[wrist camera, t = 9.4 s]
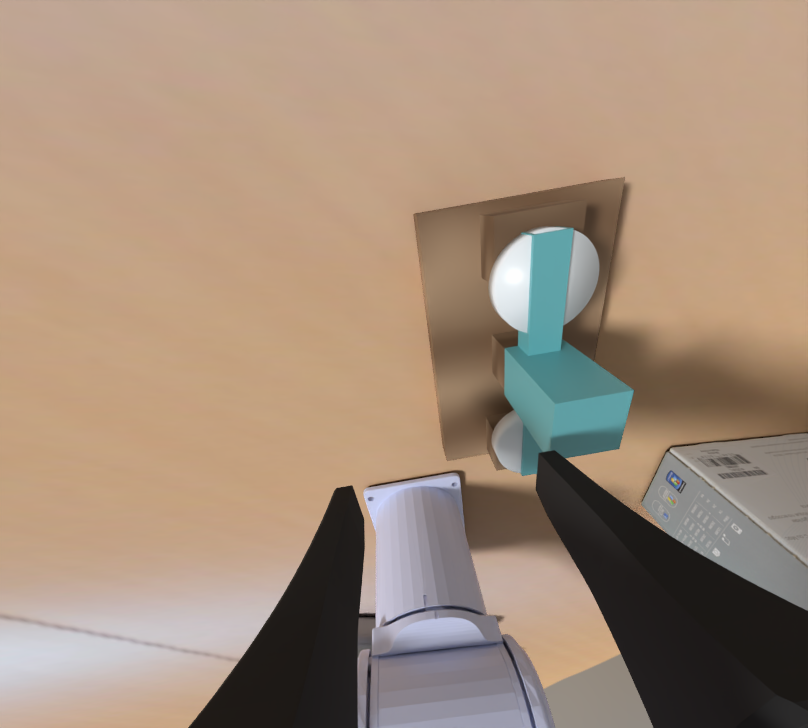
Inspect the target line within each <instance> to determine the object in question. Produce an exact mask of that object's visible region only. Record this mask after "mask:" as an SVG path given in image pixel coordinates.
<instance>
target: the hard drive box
mask: <svg viewBox="0 0 808 728" xmlns="http://www.w3.org/2000/svg"><path fill="white" fill-rule="evenodd" d="M641 505H642V506H643V507H644V508H645V509H646V510H647V512H648V513H649V514H650V515H651V516H652V517H653V518H654V519H655V520H656V522H657V523H658V524H659V525H660V526H661V527H662V528H663V529H664V530H665V532H666V533H667V534H668V535H670V536H672V537H673V538H675V539H676V540H678V541H680V542H681V543H683V544H684V545H686V546H688V547H689V548H691V549H693V550H694V551H696V552H698V553H700V554H701V555H703V556H705V557H707V558H708V559H710V560H712V561H714V562H716V563H717V564H719V565H721V566H723V567H724V568H726V569H728V570H730V571H732V572H733V573H735V574H737V575H739V576H741V577H742V578H744V579H746V580H748V581H750V582H752V583H754V584H756V585H757V586H759V587H761V588H763V589H765V590H767V591H769V592H771V593H773V594H775V595H777V596H779V597H781V598H783V599H785V600H787V601H789V602H791V603H793V604H795V605H797V606H799V607H801V608H803V609H805V610H807V611H808V433H800V434H789V435H783V436H777V437H767V438H758V439H748V440H739V441H729V442H713V443H703V444H698V445H691V446H683V447H673V448H670V451H668V452H666V454H665V456H664V458H663V460H662V462H661V464H660V466H659V469H658V471H657V473H656V475H655V477H654V479H653V481H652V483H651V485H650V487H649V489H648V491H647V493H646V495H645V497H644V499H643V501H642V504H641Z"/></svg>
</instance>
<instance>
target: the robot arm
mask: <svg viewBox="0 0 808 728" xmlns="http://www.w3.org/2000/svg"><path fill="white" fill-rule="evenodd" d="M454 482H455V483H454ZM536 491H537V493H538V496H539V498H540V500H541V502H542V505H543V507H544V509H545V511H546V513H547V516H548V517H549V519H550V521H551V523H552V524H553V526H554V528H555V530H556V531H557V533H558V535H559V537H560V538H561V540H562V542H563V543H564V545H565V547H566V548H567V550H568V552H569V554H570V555H571V557H572V559H573V560H574V562H575V564H576V566H577V567H578V569H579V571H580V572H581V574H582V576H583V577H584V579H585V581H586V583H587V585H588V587H589V588H590V590H591V592H592V594H593V596H594V598H595V600H596V602H597V604H598V606H599V608H600V610H601V612H602V614H603V616H604V619H605V621H606V623H607V625H608V627H609V629H610V631H611V633H612V635H613V638H614V640H615V642H616V644H617V646H618V648H619V650H620V653H621V655H622V657H623V659H624V661H625V663H626V666H627V668H628V670H629V672H630V675H631V677H632V679H633V681H634V684H635V686H636V688H637V690H638V693H639V695H640V697H641V699H642V702H643V704H644V706H645V708H646V711H647V713H648V716H649V717H650V720H651V723H652V725H653V728H808V611H807V610H805V609H803V608H801V607H799V606H797V605H795V604H793V603H791V602H789V601H787V600H785V599H783V598H781V597H779V596H777V595H775V594H773V593H771V592H769V591H767V590H765V589H763V588H761V587H759V586H757V585H756V584H754V583H752V582H750V581H748V580H746V579H744V578H742V577H741V576H739V575H737V574H735V573H733V572H732V571H730V570H728V569H726V568H724V567H723V566H721V565H719V564H717V563H716V562H714V561H712V560H710V559H708V558H707V557H705V556H703V555H701V554H700V553H698V552H696V551H694V550H693V549H691V548H689V547H688V546H686V545H684V544H683V543H681V542H680V541H678V540H676V539H675V538H673V537H672V536H670V535H668V534H667V533H665V532H664V531H662V530H661V529H659V528H658V527H656V526H655V525H653V524H652V523H650V522H649V521H647V520H646V519H644V518H643V517H641V516H640V515H638V514H637V513H636V512H634V511H633V510H631V509H630V508H628V507H627V506H626V505H624V504H623V503H622V502H620V501H619V500H617V499H616V498H615V497H613V496H612V495H611V494H610V493H608V492H607V491H606V490H604V489H603V488H602V487H600V486H599V485H598V484H596V483H595V482H594V481H592V480H591V479H590V478H589V477H587V476H586V475H585V474H584V473H582V472H581V471H580V470H579V469H577V468H576V467H575V466H574V465H573V464H571V463H570V462H569V461H568V460H566V459H565V458H564V457H563V456H561V455H560V454H559V453H558V452H556V451H555V450H552V451H546V452H541V453H539V454H538V467H537V479H536ZM364 498H365V501H366V504H367V507H368V510H369V513H370V516H371V519H372V522H373V525H374V528H375V531H376V628H373V629H372V654H371V650H370V649H366V650H362V651H361V652H360V654H359V657H358V622H359V609H360V597H361V586H362V574H363V562H364V549H365V543H364V517H363V515H362V512H361V509H360V506H359V503H358V500H357V498H356V495H355V492H354V489H353V486H346V487H341V488H336V489H335V491H334V493H333V496H332V498H331V501H330V503H329V505H328V508H327V510H326V512H325V515H324V517H323V519H322V521H321V524H320V526H319V528H318V530H317V532H316V534H315V536H314V538H313V540H312V542H311V545H310V547H309V549H308V551H307V553H306V554H305V556H304V558H303V560H302V562H301V564H300V566H299V568H298V569H297V571H296V573H295V575H294V577H293V579H292V580H291V582H290V584H289V586H288V587H287V589H286V591H285V592H284V594H283V596H282V597H281V599H280V601H279V602H278V604H277V606H276V607H275V609H274V610H273V612H272V614H271V615H270V617H269V618H268V620H267V621H266V623H265V624H264V626H263V627H262V629H261V630H260V632H259V633H258V635H257V636H256V638H255V639H254V641H253V642H252V644H251V645H250V647H249V648H248V650H247V651H246V652H245V654H244V655H243V657H242V658H241V659H240V661H239V662H238V664H237V665H236V666H235V668H234V669H233V670H232V672H231V673H230V674H229V676H228V677H227V678H226V680H225V681H224V682H223V684H222V685H221V687H220V688H219V689H218V691H217V692H216V693H215V695H214V696H213V697H212V699H211V700H210V701H209V702H208V704H207V705H206V706H205V708H204V709H203V710H202V711H201V713H200V714H199V715H198V716H197V718H196V719H195V720H194V721H193V722H192V724H191V725H190V726H189V727H188V728H555V725H554V721H553V718H552V715H551V711H550V708H549V704H548V701H547V698H546V695H545V693H544V690H543V687H542V684H541V682H540V679H539V677H538V675H537V672H536V670H535V668H534V666H533V664H532V662H531V660H530V658H529V657H528V655H527V653H526V652H525V651H524V650H523V648H522V647H521V646H519V645H518V643H517V642H516V640H515V639H514V638H513V637H512V636H510V635H508V634H504V635H501V632H500V629H499V625H498V622H497V618H496V616H495V615H492V616H487V612H486V608H485V605H484V601H483V597H482V594H481V590H480V586H479V582H478V579H477V575H476V571H475V568H474V564H473V560H472V556H471V553H470V549H469V545H468V541H467V538H466V534H465V525H464V515H463V504H462V494H461V484H460V477H459V474H457V473H448V474H442V475H437V476H431V477H425V478H420V479H414V480H408V481H402V482H397V483H391V484H385V485H380V486H374V487H368V488H366V489H365V490H364Z"/></svg>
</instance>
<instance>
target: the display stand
mask: <svg viewBox="0 0 808 728" xmlns="http://www.w3.org/2000/svg"><path fill="white" fill-rule="evenodd" d="M624 181H625V177H624V178H616V179H608V180H601V181H595V182H590V183H584V184H578V185H573V186H567V187H562V188H556V189H550V190H545V191H539V192H534V193H528V194H523V195H517V196H511V197H506V198H500V199H495V200H489V201H483V202H478V203H472V204H467V205H461V206H455V207H450V208H444V209H439V210H433V211H427V212H422V213H416V214H414V222H415V230H416V238H417V246H418V254H419V262H420V269H421V277H422V285H423V293H424V301H425V309H426V317H427V325H428V333H429V341H430V348H431V356H432V364H433V372H434V380H435V388H436V396H437V404H438V412H439V420H440V427H441V435H442V443H443V449H444V452H445V456H446V460H447V461H450V460H455V459H461V458H467V457H472V456H478V455H484V454H489V455H490V457H491V459H492V461H493V464H494V466H495V468H496V470H502V469H507V468H505V467H504V466H503V465H502V464H501V463H500V461H499V459H498V457H497V455H496V453H495V451H494V449H493V446H492V441H491V439H492V433H493V431H494V428H495V427H496V425H497V424H498V422H499V421H500V420H501V419H502V418H503V417H504V416H505V415H507V414H508V413H509V412H511V411H513V410H514V409H513V407H512V406H511V404H510V403H509V401H508V400H507V398H506V397H505V395H504V377H505V348H508V347H514V346H518V330H517V329H515V328H513V327H512V326H510V325H509V324H508V323H507V322H506V321H505V320H503V319H502V318H501V317H500V316H499V315H498V314H497V312H496V311H495V310H494V308H493V306H492V304H491V301H490V297H489V290H488V286H489V277H490V273H491V270H492V267H493V265H494V263H495V261H496V259H497V257H498V256H499V254H500V253H501V251H502V250H503V249H504V248H505V247H506V246H507V244H508V243H510V242H511V241H512V240H513V239H514V238H516V237H517V236H519V235H520V234H521V233H522V232H526V231H528V230H531V229H534V228H538V227H544V226H552V227H556V226H560V227H569V228H574V229H573V230H576V231H578V232H580V233H582V234H583V235H585V236H586V237H587V238H588V239H589V240H590V241H591V242H592V244H593V245H594V247H595V249H596V252H597V254H598V259H599V277H598V282H597V285H596V288H595V291H594V293H593V295H592V297H591V299H590V300H589V302H588V303H587V305H586V306H585V307H584V309H583V310H582V311H581V312H580V313H579V314H578V315H577V316H576V317H575V318H574V319H572V320H571V321H570V322H568V323H567V324H565V325H563V332H562V339H563V340H564V341H566V342H567V343H569V344H570V345H571V346H573V347H574V348H576V349H577V350H578V351H580V352H581V353H583V354H584V355H585V356H587V357H588V358H590V359H591V360H592V361H594V358H595V352H596V346H597V340H598V334H599V328H600V323H601V317H602V311H603V305H604V299H605V293H606V287H607V281H608V275H609V269H610V264H611V258H612V252H613V246H614V240H615V234H616V228H617V222H618V216H619V210H620V205H621V199H622V193H623V187H624Z"/></svg>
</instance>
